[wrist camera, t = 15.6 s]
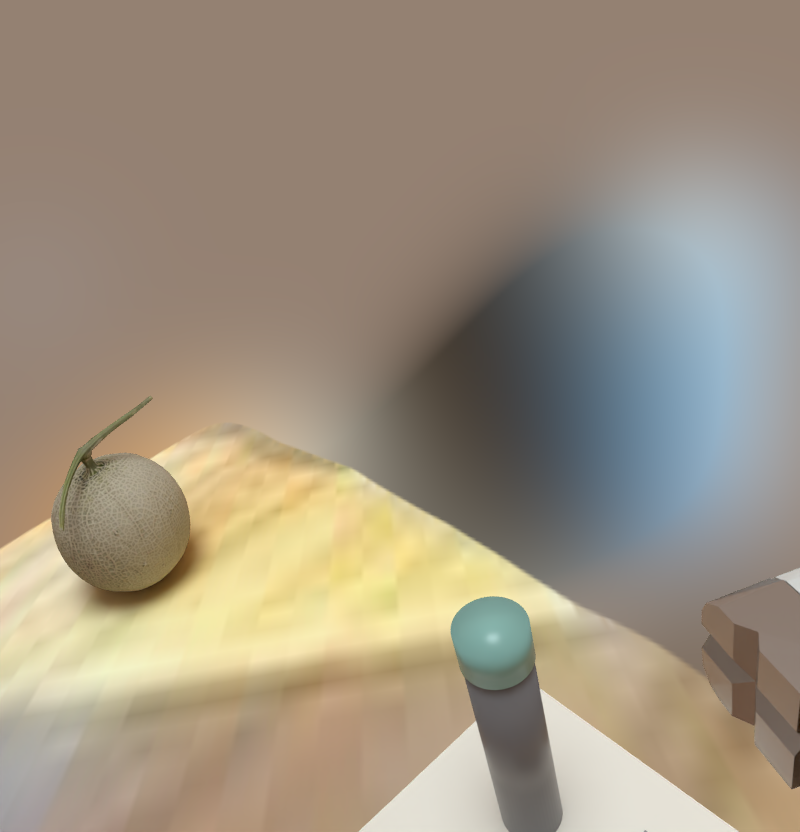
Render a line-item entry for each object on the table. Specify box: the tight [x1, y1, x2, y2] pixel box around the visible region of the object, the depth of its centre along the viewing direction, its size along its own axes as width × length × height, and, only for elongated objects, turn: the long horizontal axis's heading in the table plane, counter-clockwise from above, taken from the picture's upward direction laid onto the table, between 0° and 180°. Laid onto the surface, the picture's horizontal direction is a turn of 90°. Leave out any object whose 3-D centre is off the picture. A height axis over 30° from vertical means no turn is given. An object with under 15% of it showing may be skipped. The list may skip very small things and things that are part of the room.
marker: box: [451, 597, 563, 832], centre depth 34 cm, size 3×3×14 cm
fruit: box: [51, 396, 190, 592], centre depth 59 cm, size 10×12×15 cm
